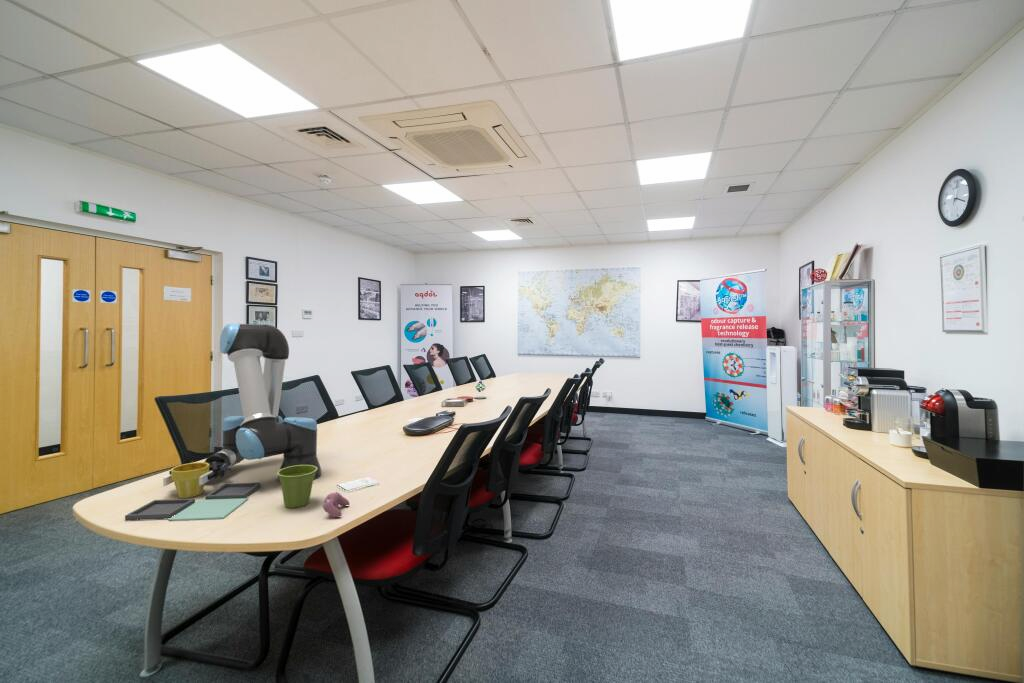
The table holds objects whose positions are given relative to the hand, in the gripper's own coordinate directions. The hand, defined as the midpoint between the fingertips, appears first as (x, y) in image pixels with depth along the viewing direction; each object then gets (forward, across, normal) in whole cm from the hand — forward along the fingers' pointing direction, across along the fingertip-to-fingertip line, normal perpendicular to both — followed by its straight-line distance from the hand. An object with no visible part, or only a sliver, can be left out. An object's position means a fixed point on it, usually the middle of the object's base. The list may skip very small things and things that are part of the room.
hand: (182, 481), depth 138 cm
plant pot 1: (-4, 0, -6) cm, 7 cm away
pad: (+10, -14, -6) cm, 18 cm away
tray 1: (+10, 0, -6) cm, 11 cm away
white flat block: (-8, -55, -7) cm, 56 cm away
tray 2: (-4, -14, -6) cm, 16 cm away
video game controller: (+16, -53, -6) cm, 56 cm away
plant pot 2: (+8, -39, -6) cm, 40 cm away
